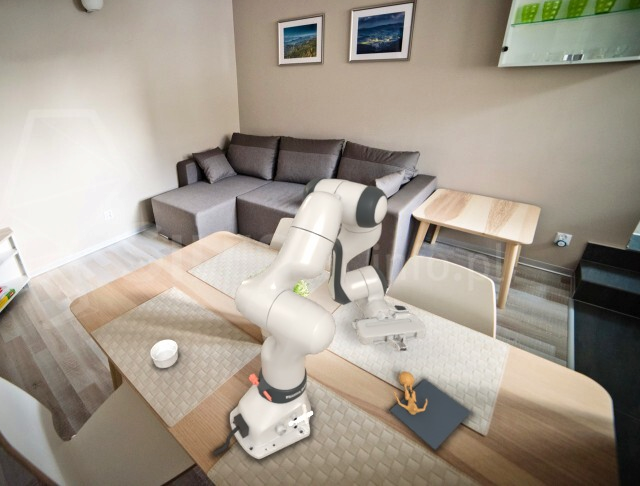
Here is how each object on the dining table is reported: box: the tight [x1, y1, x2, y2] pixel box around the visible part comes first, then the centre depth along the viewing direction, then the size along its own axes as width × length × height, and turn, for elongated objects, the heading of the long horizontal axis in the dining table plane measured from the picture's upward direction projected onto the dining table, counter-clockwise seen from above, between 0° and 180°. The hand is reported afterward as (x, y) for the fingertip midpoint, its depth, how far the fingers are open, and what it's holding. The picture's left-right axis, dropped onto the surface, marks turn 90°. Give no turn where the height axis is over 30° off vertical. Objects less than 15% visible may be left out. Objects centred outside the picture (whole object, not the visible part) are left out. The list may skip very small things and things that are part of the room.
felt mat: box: [389, 379, 471, 451], centre depth 86 cm, size 16×12×1 cm
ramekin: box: [149, 339, 179, 369], centre depth 108 cm, size 9×9×4 cm
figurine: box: [393, 370, 427, 415], centre depth 89 cm, size 8×6×12 cm
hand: (403, 349), depth 94 cm, fingers closed
